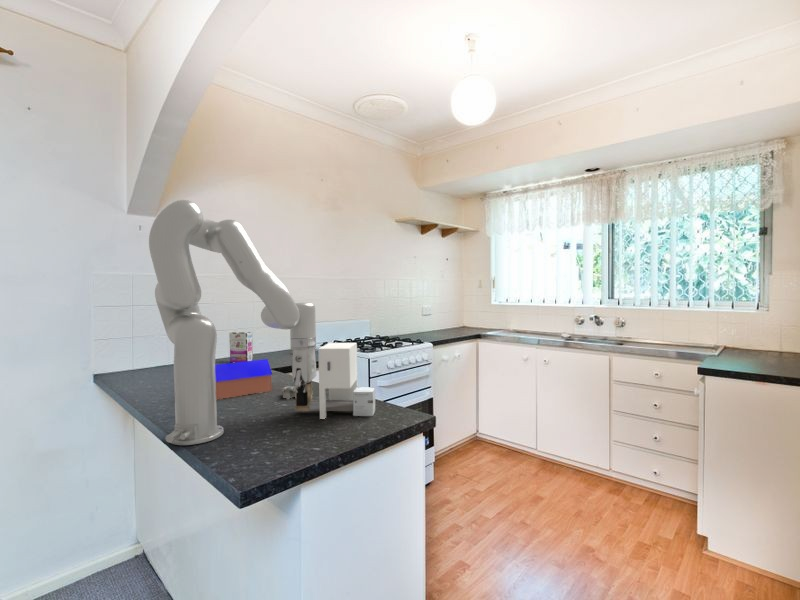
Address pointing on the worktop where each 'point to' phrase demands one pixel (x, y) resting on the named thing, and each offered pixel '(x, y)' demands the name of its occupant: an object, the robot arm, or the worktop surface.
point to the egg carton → (290, 392)
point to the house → (242, 378)
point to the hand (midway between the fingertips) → (304, 402)
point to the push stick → (330, 404)
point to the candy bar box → (241, 346)
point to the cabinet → (337, 372)
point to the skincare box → (364, 401)
